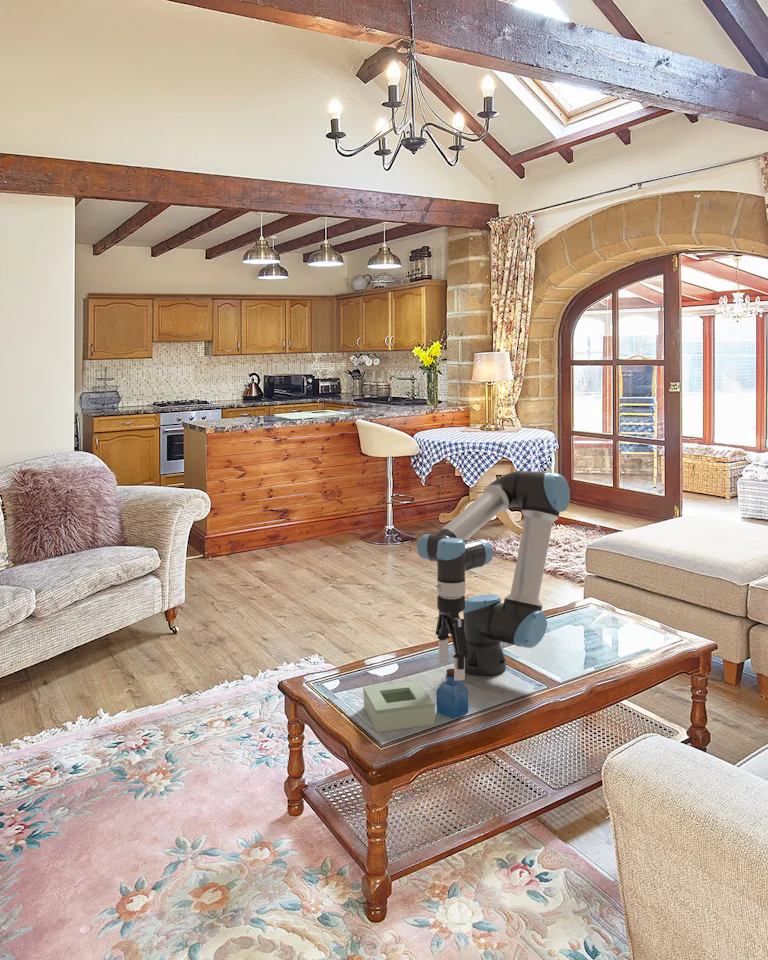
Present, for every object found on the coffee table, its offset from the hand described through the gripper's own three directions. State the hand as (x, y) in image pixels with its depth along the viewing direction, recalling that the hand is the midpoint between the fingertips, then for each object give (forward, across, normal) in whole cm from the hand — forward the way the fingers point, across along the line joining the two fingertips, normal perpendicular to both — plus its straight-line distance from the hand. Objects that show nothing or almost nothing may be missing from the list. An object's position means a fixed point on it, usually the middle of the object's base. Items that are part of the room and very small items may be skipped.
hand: (451, 671), depth 207 cm
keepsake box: (+12, -2, -14) cm, 19 cm away
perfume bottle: (+12, 0, 0) cm, 12 cm away
